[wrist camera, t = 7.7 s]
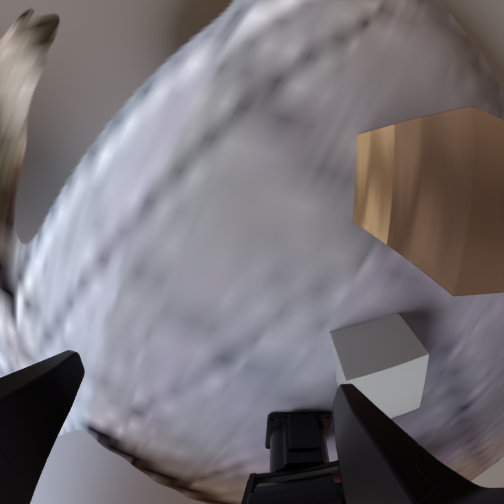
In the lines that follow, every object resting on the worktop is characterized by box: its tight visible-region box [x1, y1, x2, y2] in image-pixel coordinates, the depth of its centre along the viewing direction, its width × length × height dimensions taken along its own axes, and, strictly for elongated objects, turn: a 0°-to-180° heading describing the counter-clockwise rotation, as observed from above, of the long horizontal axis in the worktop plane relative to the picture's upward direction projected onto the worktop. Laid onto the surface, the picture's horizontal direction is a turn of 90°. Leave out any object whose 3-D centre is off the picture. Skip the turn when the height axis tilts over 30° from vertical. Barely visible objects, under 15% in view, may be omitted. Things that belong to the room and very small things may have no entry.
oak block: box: [353, 125, 395, 245], centre depth 15 cm, size 6×6×6 cm
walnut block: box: [387, 106, 504, 296], centre depth 9 cm, size 6×6×6 cm
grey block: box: [330, 313, 429, 418], centre depth 19 cm, size 6×6×6 cm
